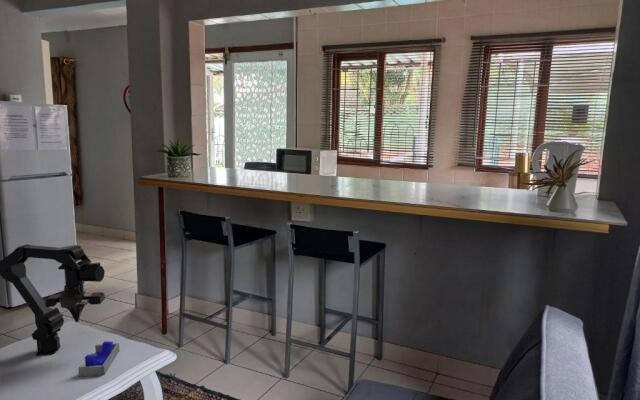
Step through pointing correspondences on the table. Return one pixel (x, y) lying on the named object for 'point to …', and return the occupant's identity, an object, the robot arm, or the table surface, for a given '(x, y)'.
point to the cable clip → (99, 355)
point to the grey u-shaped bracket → (102, 368)
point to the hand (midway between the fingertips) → (77, 321)
